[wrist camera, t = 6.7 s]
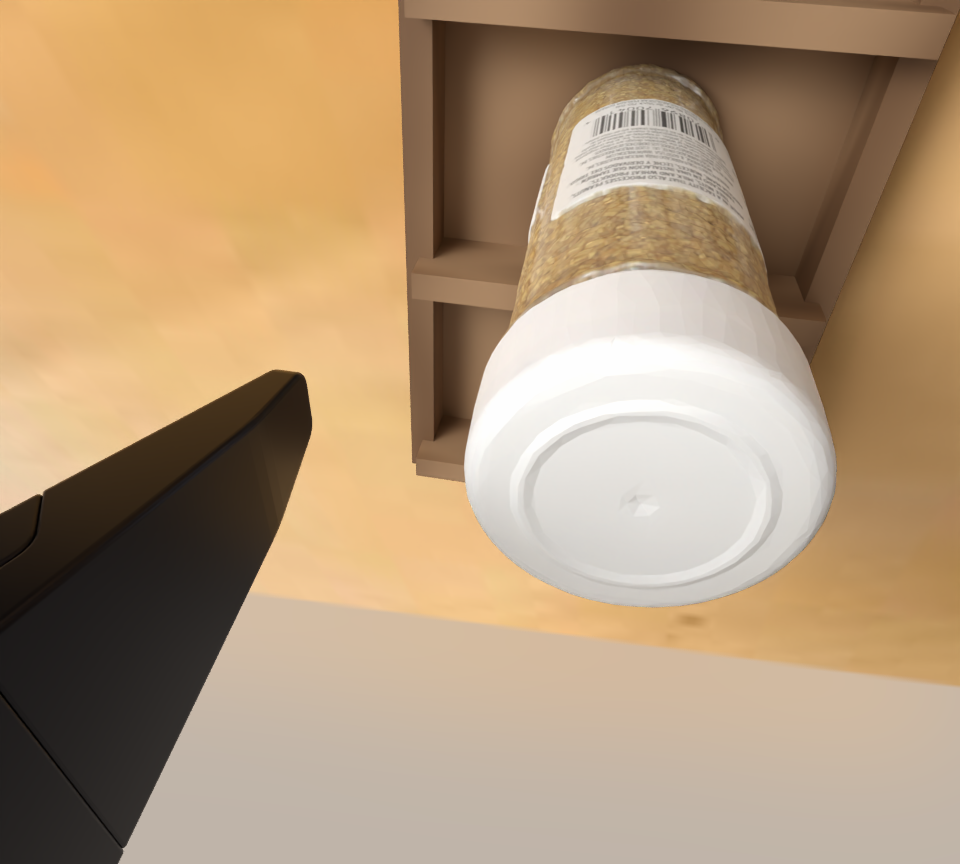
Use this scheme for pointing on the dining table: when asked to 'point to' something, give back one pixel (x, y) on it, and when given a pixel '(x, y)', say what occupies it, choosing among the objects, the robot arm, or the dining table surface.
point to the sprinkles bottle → (647, 369)
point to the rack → (564, 73)
